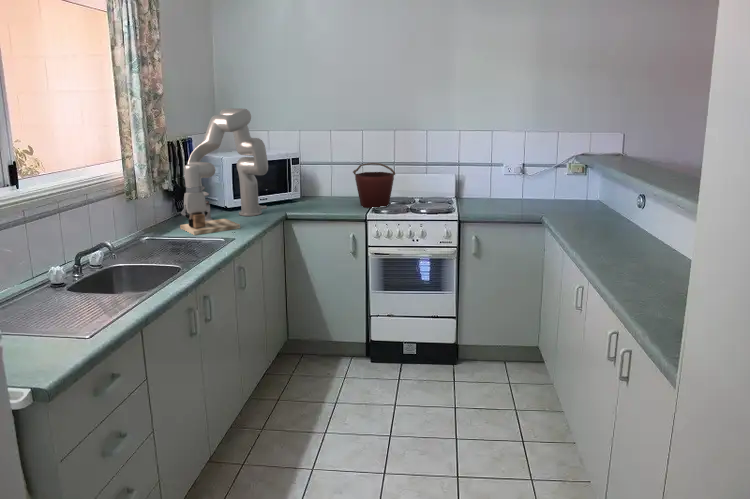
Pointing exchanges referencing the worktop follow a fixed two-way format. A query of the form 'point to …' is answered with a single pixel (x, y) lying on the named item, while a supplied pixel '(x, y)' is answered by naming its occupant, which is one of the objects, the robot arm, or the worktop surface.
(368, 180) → the bucket
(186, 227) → the plywood board
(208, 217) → the french press
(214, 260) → the worktop surface
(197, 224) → the block
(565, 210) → the worktop surface
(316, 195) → the worktop surface
